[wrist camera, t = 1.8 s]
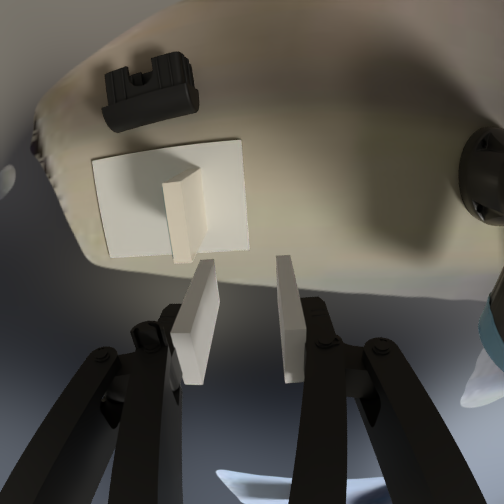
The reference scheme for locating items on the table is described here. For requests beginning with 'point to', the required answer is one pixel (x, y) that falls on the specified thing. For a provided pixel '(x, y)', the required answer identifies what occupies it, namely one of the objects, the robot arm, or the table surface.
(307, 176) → the table surface
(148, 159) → the mat
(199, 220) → the tile
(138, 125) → the end cap
